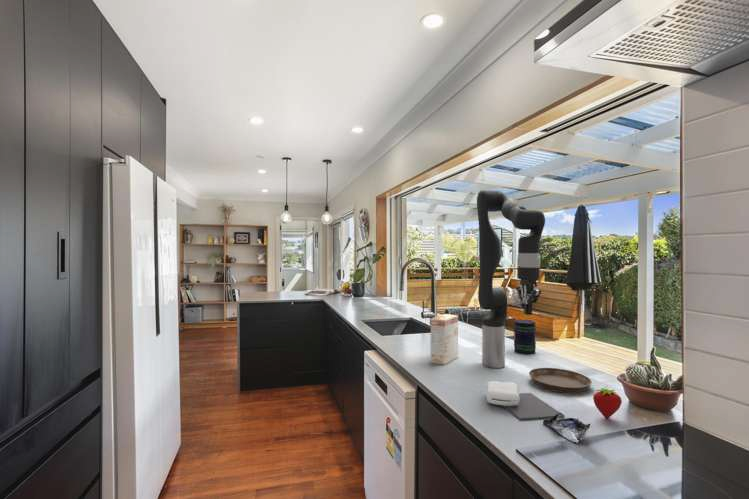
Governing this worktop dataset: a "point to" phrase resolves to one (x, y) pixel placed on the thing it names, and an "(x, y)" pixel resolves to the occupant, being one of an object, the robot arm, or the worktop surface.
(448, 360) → the coffeecake box
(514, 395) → the photo printer
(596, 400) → the strawberry
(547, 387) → the plant saucer
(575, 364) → the worktop surface
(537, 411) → the mat
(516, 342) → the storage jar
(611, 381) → the worktop surface
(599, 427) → the worktop surface
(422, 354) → the worktop surface
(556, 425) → the snack package
